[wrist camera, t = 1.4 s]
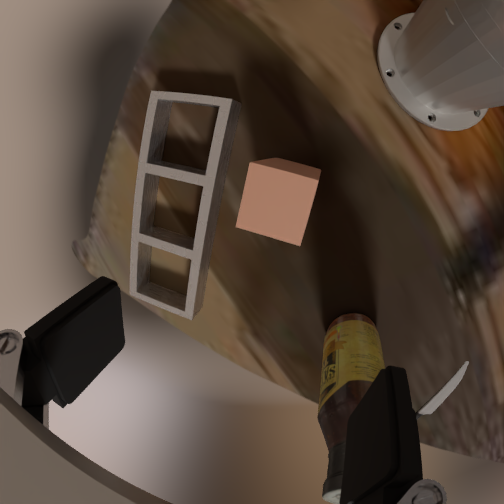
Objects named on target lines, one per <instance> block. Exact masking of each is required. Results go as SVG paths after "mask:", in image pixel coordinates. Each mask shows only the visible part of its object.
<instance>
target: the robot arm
mask: <svg viewBox="0 0 504 504" xmlns="http://www.w3.org/2000/svg"><path fill="white" fill-rule="evenodd" d="M396 28H398V29H399V30H397V29H396ZM377 62H378V67H379V71H380V74H381V77H382V79H383V82H384V84H385V86H386V88H387V89H388V91H389V93H390V94H391V96H392V97H393V98H394V100H395V101H396V102H397V103H398V105H399V106H400V107H401V108H402V109H403V110H405V111H406V112H407V113H408V114H409V115H410V116H412V117H413V118H415V119H416V120H417V121H419V122H421V123H423V124H425V125H427V126H429V127H432V128H435V129H439V130H445V131H458V130H463V129H467V128H470V127H471V126H473V125H475V124H477V123H478V122H479V121H480V120H481V119H482V118H483V117H484V115H485V113H486V112H487V110H488V108H492V107H497V106H503V105H504V0H423V2H422V3H421V5H420V6H419V8H418V9H417V11H416V12H415V13H408V14H405V15H401V16H399V17H397V18H395V19H394V20H392V21H391V22H390V23H389V24H388V25H387V26H386V28H385V29H384V31H383V33H382V35H381V37H380V39H379V43H378V48H377ZM387 73H390V74H391V77H389V76H388V75H387ZM474 112H475V114H474ZM428 116H430V117H431V121H429V119H428ZM24 333H25V336H26V337H25V338H22V335H21V334H20V333H19V332H18V331H16V330H12V329H6V330H2V331H0V504H172V503H170V502H167V501H165V500H163V499H160V498H158V497H156V496H154V495H152V494H150V493H148V492H146V491H144V490H141V489H140V488H138V487H136V486H134V485H132V484H130V483H128V482H126V481H124V480H123V479H121V478H119V477H117V476H115V475H114V474H112V473H111V472H109V471H107V470H106V469H103V468H102V467H101V466H99V465H98V464H96V463H94V462H93V461H91V460H90V459H88V458H87V457H85V456H84V455H82V454H81V453H79V452H78V451H76V450H75V449H74V448H72V447H71V446H69V445H68V444H66V443H65V442H64V441H63V440H61V439H60V438H59V437H57V436H56V435H55V434H53V433H52V432H51V431H50V430H49V422H48V421H49V402H50V400H52V399H53V401H54V402H55V403H57V404H58V405H59V406H61V407H62V408H64V407H65V406H66V405H67V404H70V403H72V402H73V401H74V400H75V399H76V398H77V397H78V396H79V395H80V394H81V392H83V391H84V390H85V388H86V387H87V386H88V385H89V384H90V383H91V382H92V381H93V380H94V379H95V378H96V377H97V376H98V374H99V373H100V372H101V371H102V370H103V369H104V368H105V367H106V366H107V365H108V364H109V363H110V362H111V361H112V360H113V359H114V357H115V356H116V355H117V354H118V353H119V352H120V351H121V350H122V349H123V347H124V344H125V337H124V328H123V318H122V308H121V295H120V288H119V287H118V284H117V282H116V281H114V280H111V279H109V278H107V277H104V276H102V277H100V278H98V279H97V280H95V281H94V282H92V283H91V284H89V285H88V286H87V287H85V288H84V289H82V290H81V291H79V292H78V293H76V294H75V295H74V296H72V297H71V298H69V299H68V300H66V301H65V302H64V303H62V304H61V305H59V306H58V307H57V308H55V309H54V310H53V311H51V312H50V313H48V314H47V315H46V316H44V317H43V318H42V319H40V320H39V321H38V322H36V323H35V324H34V325H32V326H31V327H30V328H28V329H27V330H26V331H25V332H24ZM446 502H447V496H446V492H445V490H444V488H443V487H442V486H441V484H440V483H438V482H437V481H435V480H431V479H424V480H423V474H422V461H421V451H420V442H419V433H418V426H417V419H416V413H415V411H414V410H413V409H412V402H411V396H410V391H409V385H408V380H407V374H406V370H405V369H404V368H400V367H395V366H388V367H387V368H386V369H381V370H380V372H379V373H378V375H377V376H376V378H375V380H374V381H373V383H372V384H371V386H370V387H369V389H368V390H367V392H366V393H365V395H364V396H363V398H362V399H361V401H360V402H359V404H358V405H357V407H356V408H355V410H354V411H353V412H352V414H351V415H350V417H349V419H348V423H347V435H346V448H345V459H344V469H343V478H342V486H341V494H340V501H339V504H446Z"/></svg>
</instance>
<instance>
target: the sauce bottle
mask: <svg viewBox="0 0 504 504" xmlns="http://www.w3.org/2000/svg"><path fill="white" fill-rule="evenodd" d="M381 369H385V366H384V360H383V354H382V348H381V343H380V338H379V334H378V332H377V329H376V326H375V324H374V323H373V322H372V321H371V319H370V318H369V317H367V316H365V315H363V314H358V313H349V314H344V315H341V316H339V317H338V318H336V319H335V320H334V321H333V322H332V323H331V324H330V326H329V328H328V330H327V332H326V336H325V339H324V351H323V364H322V377H321V386H320V399H319V408H318V422H319V424H320V427H321V429H322V432H323V435H324V438H325V441H326V444H327V447H328V450H329V454H328V458H329V464H328V471H327V479H326V480H325V482H324V484H323V494H322V496H323V499H324V500H326V501H328V502H330V503H334V504H339V501H340V494H341V486H342V478H343V469H344V459H345V448H346V435H347V423H348V419H349V417H350V415H351V414H352V412H353V411H354V410H355V408H356V407H357V405H358V404H359V402H360V401H361V399H362V398H363V396H364V395H365V393H366V392H367V390H368V389H369V387H370V386H371V384H372V383H373V381H374V380H375V378H376V376H377V375H378V373H379V372H380V370H381Z"/></svg>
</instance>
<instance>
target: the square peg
mask: <svg viewBox="0 0 504 504" xmlns="http://www.w3.org/2000/svg"><path fill="white" fill-rule="evenodd" d="M320 173H321V169H318V168H314V167H311V166H307V165H303V164H300V163H296V162H292V161H289V160H285V159H281V158H277V157H276V158H270V159H264V160H259V161H253V162H250V164H249V169H248V173H247V178H246V182H245V187H244V191H243V196H242V201H241V205H240V210H239V215H238V219H237V224H236V227H238V228H241V229H244V230H248V231H251V232H255V233H258V234H261V235H265V236H268V237H271V238H275V239H278V240H281V241H285V242H288V243H291V244H295V245H298V246H300V245H301V241H302V238H303V235H304V231H305V228H306V224H307V221H308V217H309V214H310V210H311V207H312V203H313V200H314V196H315V193H316V189H317V185H318V182H319V178H320Z"/></svg>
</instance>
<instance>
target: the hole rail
mask: <svg viewBox="0 0 504 504" xmlns="http://www.w3.org/2000/svg"><path fill="white" fill-rule="evenodd" d="M173 102H177V103H186V104H195V105H203V106H210V107H217V108H219V112H218V116H217V121H216V125H215V130H214V135H213V140H212V144H211V149H210V154H209V159H208V165H207V170H202V169H198V168H193V167H189V166H184V165H180V164H175V163H170V162H165V161H162V156H163V150H164V144H165V139H166V133H167V128H168V122H169V117H170V112H171V107H172V103H173ZM241 105H242V104H241V103H239V102H237V101H235V100H233V99H228V98H221V97H214V96H206V95H197V94H188V93H177V92H163V91H151V94H150V99H149V104H148V109H147V114H146V120H145V125H144V131H143V137H142V143H141V150H140V157H139V164H138V172H137V180H136V189H135V198H134V209H133V222H132V237H131V258H130V295H132V296H134V297H136V298H139V299H141V300H143V301H146V302H148V303H151V304H153V305H155V306H158V307H160V308H163V309H165V310H168V311H170V312H172V313H175V314H178V315H180V316H183V317H185V318H188V319H190V320H193V318H194V317H195V316H196V315H197V313H198V312H199V311H200V309H201V308H202V306H203V299H204V293H205V287H206V281H207V275H208V269H209V263H210V257H211V252H212V246H213V241H214V235H215V230H216V224H217V219H218V214H219V208H220V203H221V198H222V193H223V188H224V183H225V178H226V173H227V168H228V164H229V159H230V154H231V149H232V145H233V140H234V136H235V131H236V127H237V122H238V118H239V113H240V109H241ZM159 176H162V177H167V178H171V179H175V180H180V181H184V182H188V183H192V184H196V185H200V186H203V192H202V197H201V203H200V209H199V215H198V221H197V227H196V234H195V238H192V237H189V236H185V235H182V234H179V233H176V232H173V231H169V230H166V229H163V228H160V227H157V226H154V216H155V207H156V199H157V191H158V183H159ZM152 246H153V247H156V248H159V249H162V250H165V251H168V252H171V253H174V254H177V255H180V256H183V257H186V258H188V259H191V268H190V275H189V282H188V290H187V296H186V295H183V294H180V293H178V292H175V291H172V290H170V289H167V288H165V287H162V286H159V285H157V284H154V283H152V282H149V277H150V261H151V248H152Z"/></svg>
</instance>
